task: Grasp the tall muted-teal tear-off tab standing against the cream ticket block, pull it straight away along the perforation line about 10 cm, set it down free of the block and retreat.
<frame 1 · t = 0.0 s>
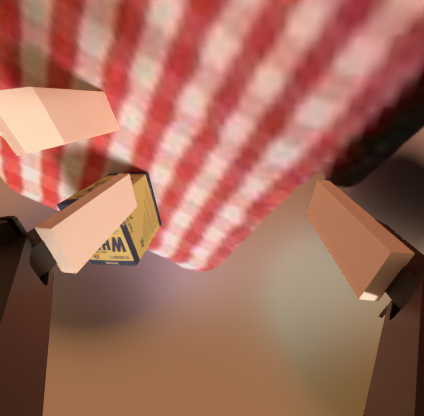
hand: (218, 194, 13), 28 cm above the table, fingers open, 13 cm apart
protein box: (137, 199, 48), on the table
milk carton: (98, 115, 38), on the table
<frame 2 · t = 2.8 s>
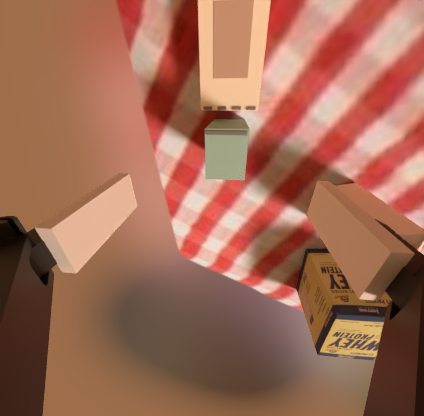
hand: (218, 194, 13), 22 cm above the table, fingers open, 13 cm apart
ticket block: (231, 62, 27), on the table
protein box: (321, 270, 46), on the table
stub: (228, 137, 32), on the table
milk carton: (331, 200, 36), on the table
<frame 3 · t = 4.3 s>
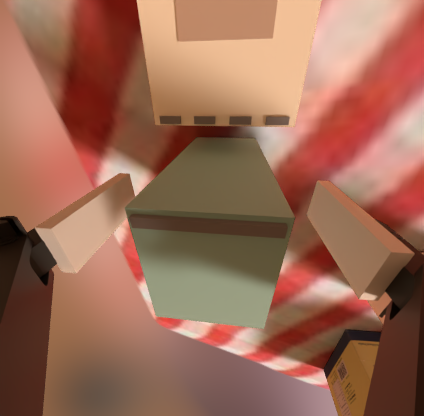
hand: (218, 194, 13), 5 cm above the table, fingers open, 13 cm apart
ticket block: (229, 13, 12), on the table
protein box: (364, 352, 31), on the table
stub: (224, 171, 17), on the table
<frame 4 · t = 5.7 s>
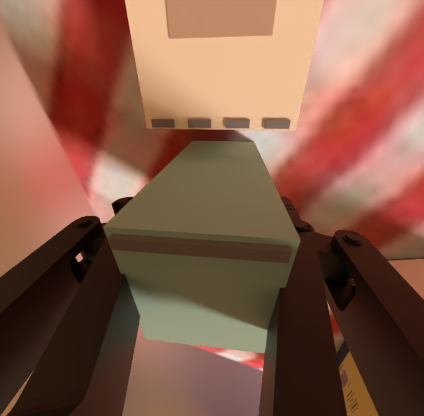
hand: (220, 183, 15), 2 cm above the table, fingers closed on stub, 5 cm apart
ticket block: (226, 10, 11), on the table
protein box: (365, 358, 30), on the table
stub: (221, 175, 16), on the table, touching gripper
milk carton: (404, 278, 20), on the table
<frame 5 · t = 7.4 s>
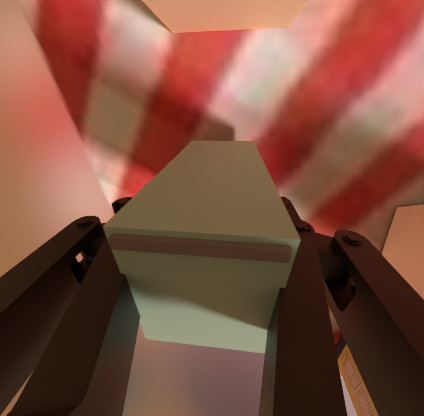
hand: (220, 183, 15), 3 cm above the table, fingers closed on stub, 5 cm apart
protein box: (377, 330, 29), on the table
stub: (221, 175, 16), point 2 cm above the table, touching gripper
when the fingers open (2 cm above the table, at t = 9.5 s): stub stays where it is, on the table.
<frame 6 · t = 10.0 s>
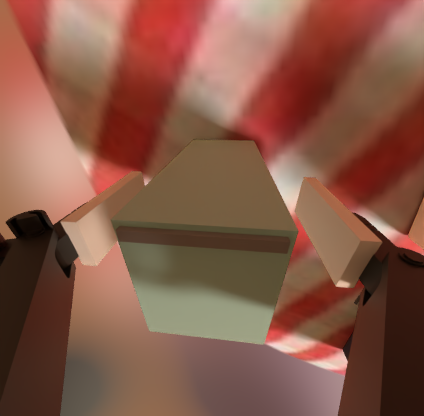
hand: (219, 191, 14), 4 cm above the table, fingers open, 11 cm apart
stub: (222, 174, 17), on the table
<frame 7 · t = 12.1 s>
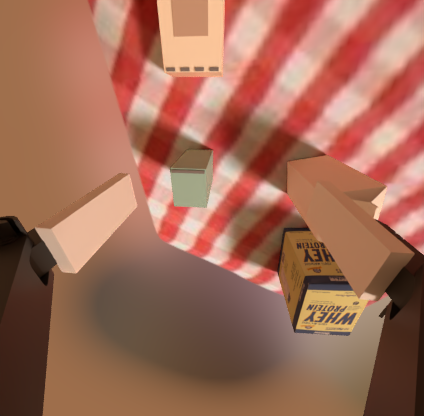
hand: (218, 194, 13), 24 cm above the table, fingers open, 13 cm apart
ticket block: (196, 26, 26), on the table
protein box: (300, 251, 46), on the table
stub: (200, 164, 37), on the table
milk carton: (305, 175, 36), on the table
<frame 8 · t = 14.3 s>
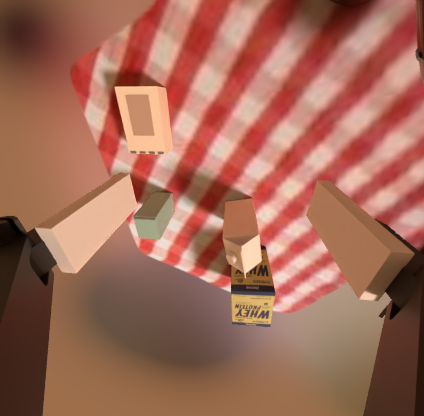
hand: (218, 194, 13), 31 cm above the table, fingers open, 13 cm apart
ticket block: (151, 120, 40), on the table
protein box: (247, 262, 59), on the table
stub: (164, 202, 50), on the table
milk carton: (240, 210, 49), on the table
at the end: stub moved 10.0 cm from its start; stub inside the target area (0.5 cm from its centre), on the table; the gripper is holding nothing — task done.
